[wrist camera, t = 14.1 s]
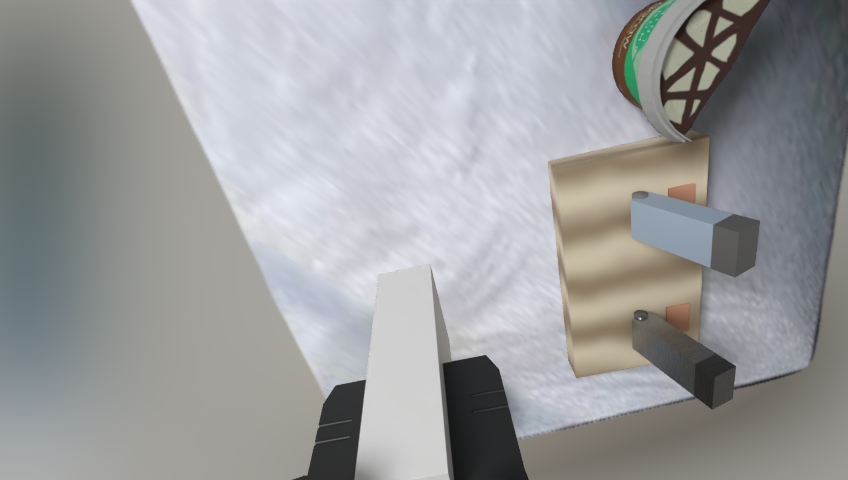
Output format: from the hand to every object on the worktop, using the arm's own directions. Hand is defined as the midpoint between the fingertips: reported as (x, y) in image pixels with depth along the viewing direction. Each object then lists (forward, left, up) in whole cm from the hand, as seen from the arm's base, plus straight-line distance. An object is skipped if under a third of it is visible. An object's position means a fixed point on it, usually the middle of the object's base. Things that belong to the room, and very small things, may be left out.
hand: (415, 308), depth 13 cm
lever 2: (+28, +19, -29) cm, 45 cm away
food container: (-1, +21, -33) cm, 39 cm away
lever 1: (+14, +19, -29) cm, 38 cm away
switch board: (+21, +19, -32) cm, 43 cm away
